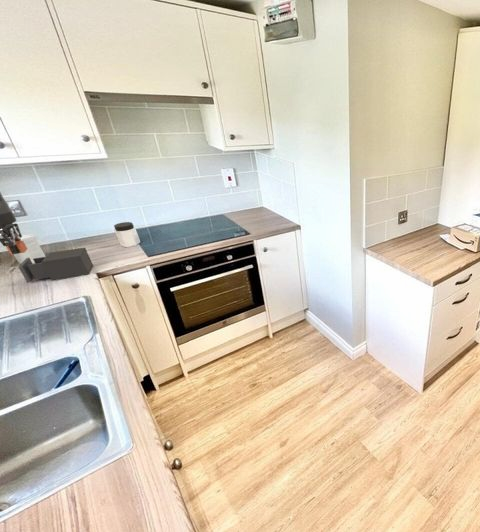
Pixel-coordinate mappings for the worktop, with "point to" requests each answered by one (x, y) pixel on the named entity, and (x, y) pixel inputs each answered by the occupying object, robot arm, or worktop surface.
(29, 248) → the small box
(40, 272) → the drawer
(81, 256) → the cabinet
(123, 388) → the worktop surface
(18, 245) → the block
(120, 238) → the jar
